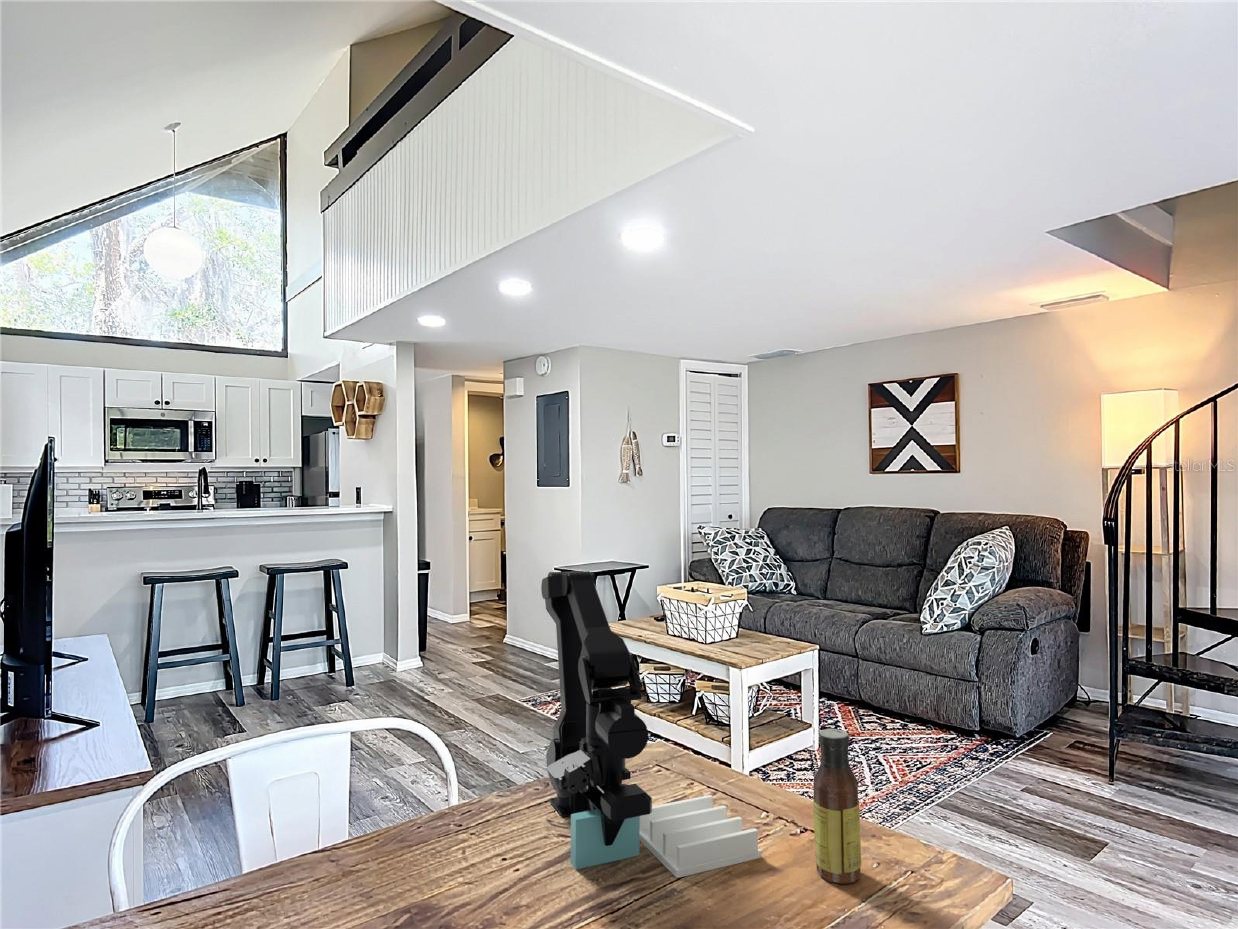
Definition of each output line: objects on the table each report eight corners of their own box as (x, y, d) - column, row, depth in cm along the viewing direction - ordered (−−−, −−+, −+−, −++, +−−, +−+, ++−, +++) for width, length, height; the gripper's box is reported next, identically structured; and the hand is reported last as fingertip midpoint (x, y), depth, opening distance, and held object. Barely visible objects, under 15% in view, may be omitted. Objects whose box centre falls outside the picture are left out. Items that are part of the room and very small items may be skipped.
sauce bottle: (856, 864, 110) (856, 726, 111) (865, 888, 104) (866, 741, 104) (809, 862, 111) (810, 724, 111) (816, 885, 105) (817, 739, 105)
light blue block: (570, 863, 111) (570, 814, 111) (633, 849, 115) (633, 802, 115) (575, 869, 109) (575, 820, 109) (639, 855, 113) (639, 807, 113)
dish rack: (634, 835, 119) (634, 809, 119) (712, 819, 125) (712, 794, 125) (676, 878, 107) (676, 849, 107) (761, 857, 112) (761, 830, 112)
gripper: (532, 721, 117) (532, 824, 117) (577, 765, 100) (576, 885, 100) (600, 712, 122) (599, 811, 121) (654, 752, 105) (653, 867, 104)
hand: (605, 841), depth 112 cm, fingers closed on light blue block, 2 cm apart
